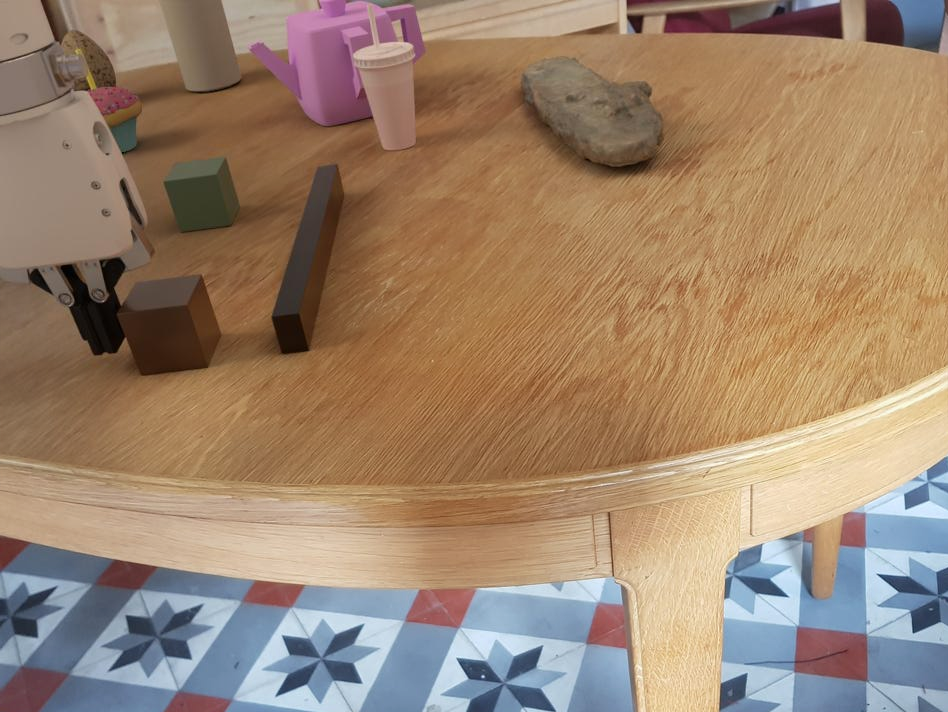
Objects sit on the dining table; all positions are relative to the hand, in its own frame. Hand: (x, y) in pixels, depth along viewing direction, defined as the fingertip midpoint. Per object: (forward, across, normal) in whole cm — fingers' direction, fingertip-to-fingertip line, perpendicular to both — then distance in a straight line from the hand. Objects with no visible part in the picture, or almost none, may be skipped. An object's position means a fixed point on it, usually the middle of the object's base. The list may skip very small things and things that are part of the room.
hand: (111, 345), depth 69 cm
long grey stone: (+2, -39, -42) cm, 57 cm away
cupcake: (+2, +16, -55) cm, 57 cm away
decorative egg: (+2, +25, -77) cm, 81 cm away
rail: (+2, -14, -14) cm, 19 cm away
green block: (+2, -1, -27) cm, 27 cm away
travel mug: (+2, +9, -80) cm, 81 cm away
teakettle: (+2, -12, -60) cm, 61 cm away
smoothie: (+2, -19, -42) cm, 47 cm away
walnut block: (+2, -5, 0) cm, 5 cm away
